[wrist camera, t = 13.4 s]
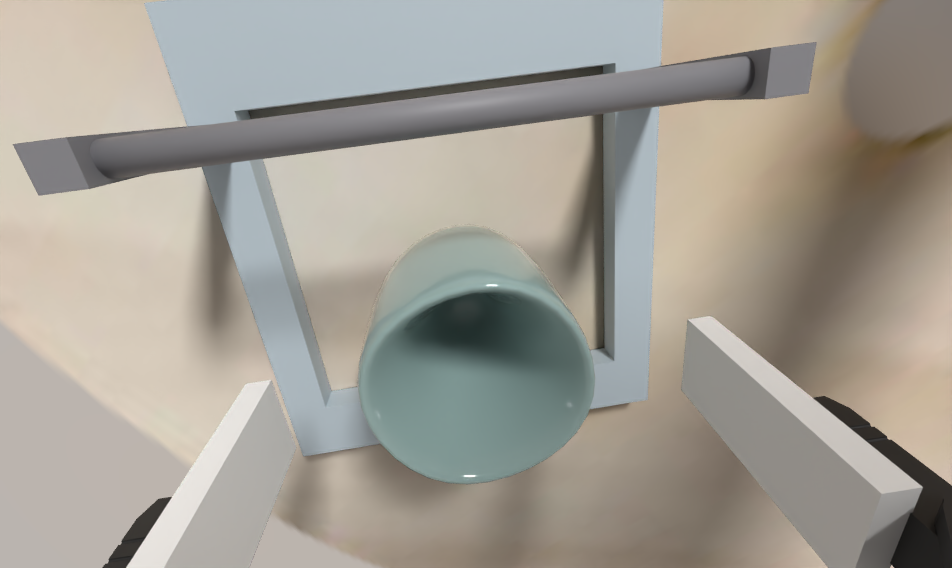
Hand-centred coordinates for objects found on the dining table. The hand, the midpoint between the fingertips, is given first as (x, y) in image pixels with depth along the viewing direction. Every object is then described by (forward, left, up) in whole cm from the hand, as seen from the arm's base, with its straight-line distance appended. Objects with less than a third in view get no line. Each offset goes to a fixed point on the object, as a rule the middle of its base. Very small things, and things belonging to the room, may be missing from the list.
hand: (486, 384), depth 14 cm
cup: (0, 0, -10) cm, 10 cm away
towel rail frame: (-2, 0, -10) cm, 10 cm away
